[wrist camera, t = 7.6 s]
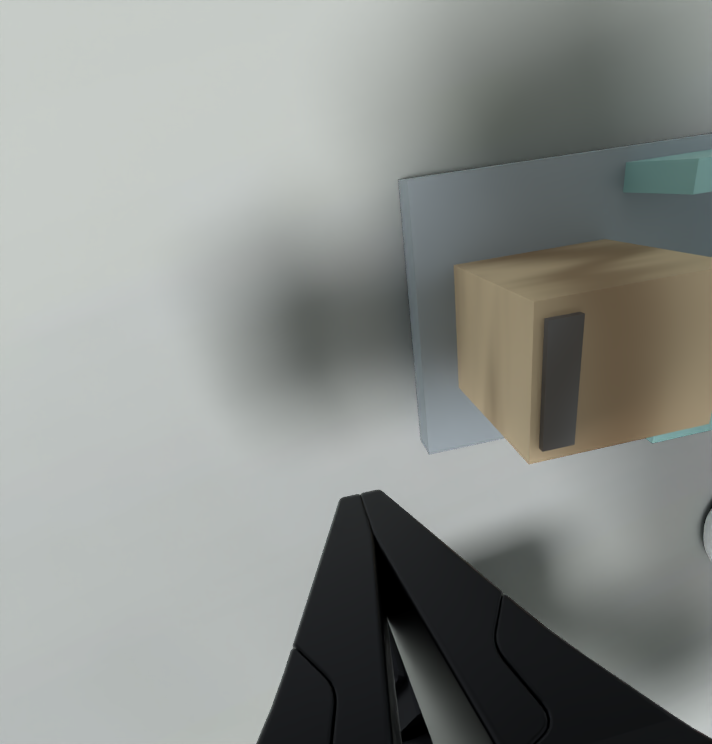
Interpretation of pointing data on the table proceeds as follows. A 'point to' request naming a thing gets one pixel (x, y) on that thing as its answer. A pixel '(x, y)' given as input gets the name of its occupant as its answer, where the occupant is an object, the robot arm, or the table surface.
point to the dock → (536, 244)
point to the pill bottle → (708, 535)
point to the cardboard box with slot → (586, 344)
